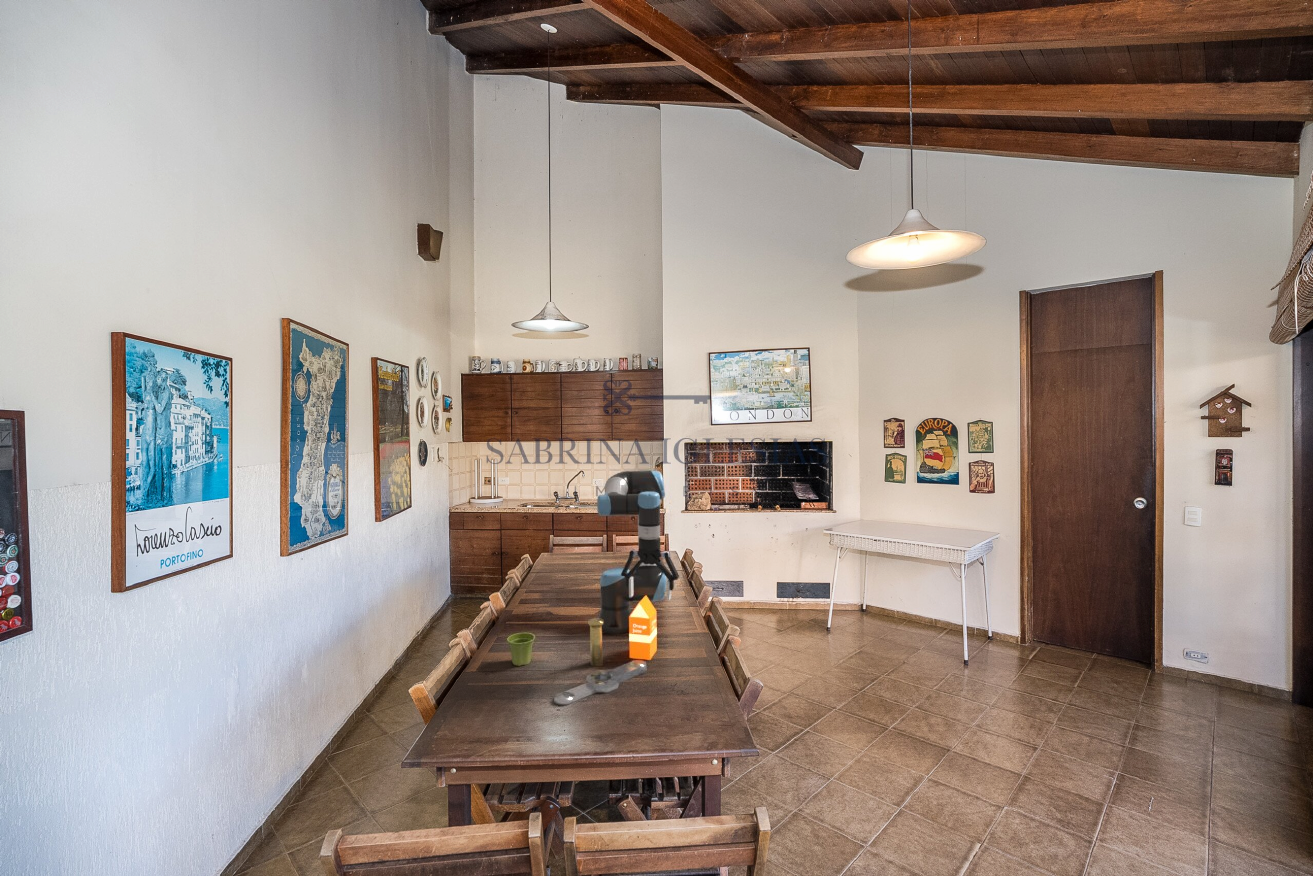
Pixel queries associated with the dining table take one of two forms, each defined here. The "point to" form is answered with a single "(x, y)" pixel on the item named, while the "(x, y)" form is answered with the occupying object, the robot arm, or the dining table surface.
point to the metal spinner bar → (601, 682)
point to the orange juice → (643, 630)
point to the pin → (596, 640)
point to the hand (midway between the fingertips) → (650, 597)
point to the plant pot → (521, 647)
